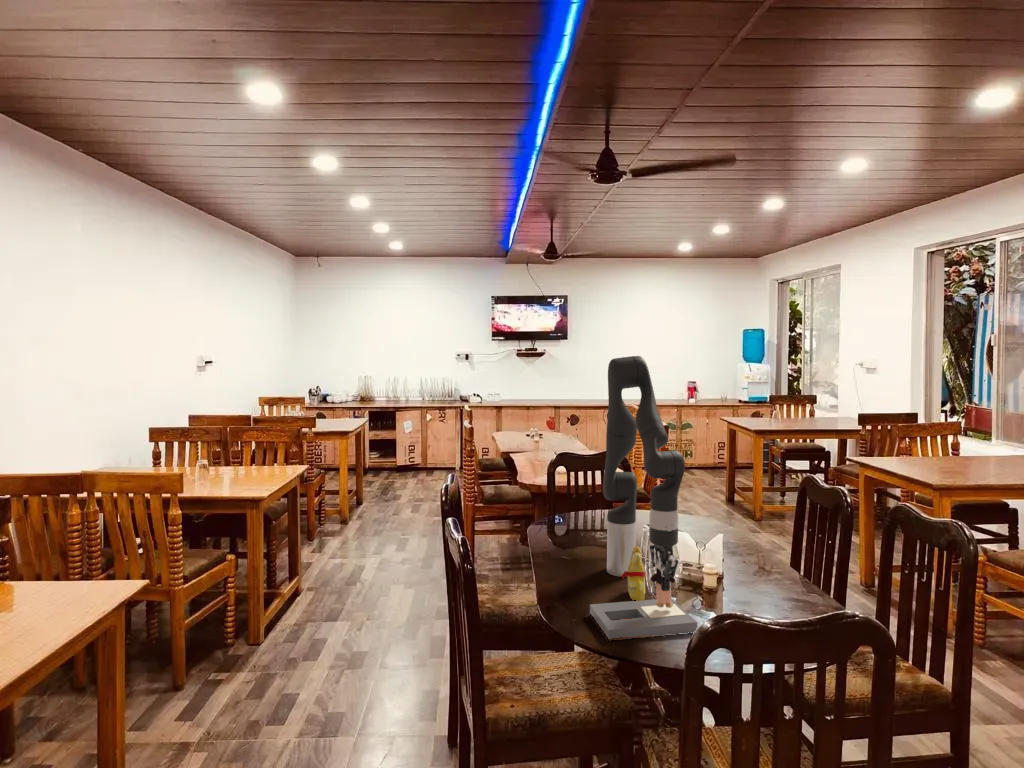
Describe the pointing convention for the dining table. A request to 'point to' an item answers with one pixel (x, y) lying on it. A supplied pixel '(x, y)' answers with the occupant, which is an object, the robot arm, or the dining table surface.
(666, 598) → the grandmother figurine
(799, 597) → the dining table surface
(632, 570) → the chocolate bunny
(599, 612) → the pocket holder
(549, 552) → the dining table surface
